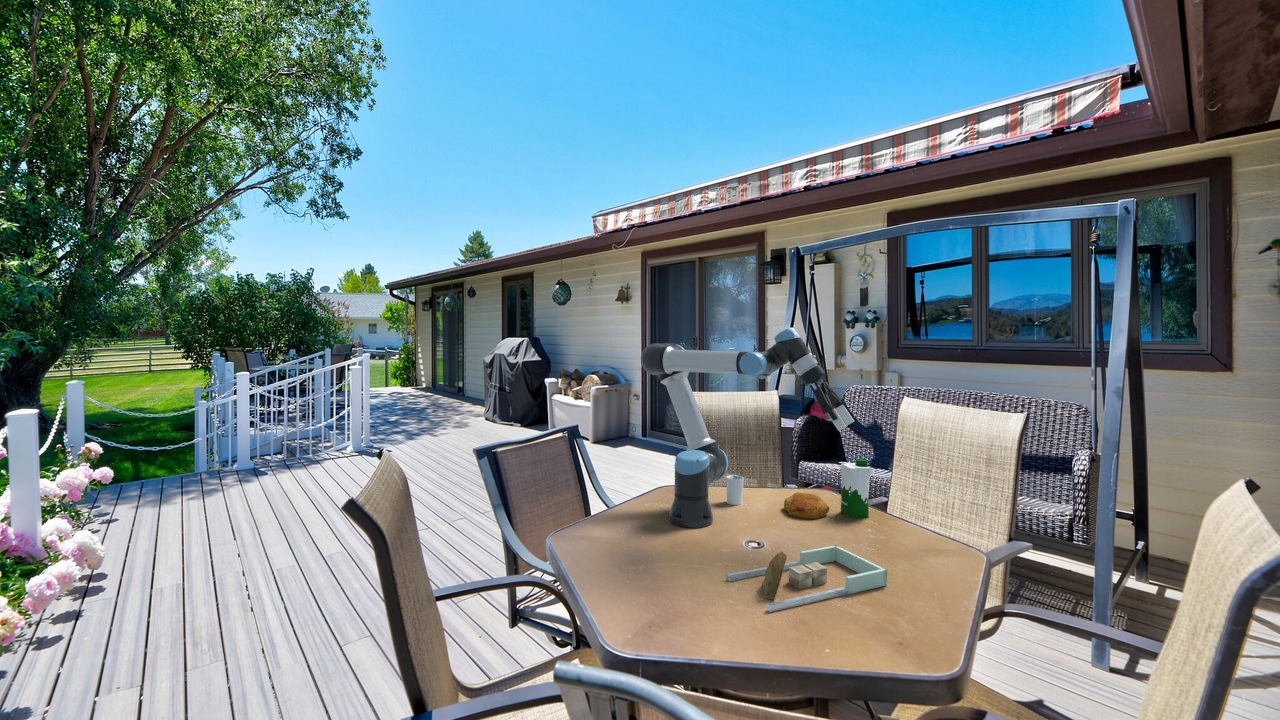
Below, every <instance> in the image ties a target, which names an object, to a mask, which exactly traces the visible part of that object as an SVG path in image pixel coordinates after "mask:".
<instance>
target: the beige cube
mask: <svg viewBox="0 0 1280 720" xmlns="http://www.w3.org/2000/svg"><path fill="white" fill-rule="evenodd" d="M804 567H806V568H807V569H809V570H811V571H812V586H818V585H824V584H827V583H828V581H827V579H828V568H827V567H826V566H824V565H822V564H819V563H817V562H815V563H809V564H804Z"/></svg>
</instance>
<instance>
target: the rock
mask: <svg viewBox="0 0 1280 720" xmlns="http://www.w3.org/2000/svg"><path fill="white" fill-rule="evenodd" d="M787 557H788V556H787V554H786V553H785V552H783V551H780V552H777V553H776V554H775V555H774V557H772V559H771V560H770V562H769V563H768V566H766V567H767V569H766V571H765V575H764V579H763V582H762V585H761V586H762V590H763V592H764V598H765V599H769V600H772V601H774V600H775V599H776V595H777V592H778V590H779V587H780V585H781V580H782V577H783V572H784V571H783V569H784V565H785V563H787V559H788V558H787Z"/></svg>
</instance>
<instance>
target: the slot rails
mask: <svg viewBox="0 0 1280 720" xmlns="http://www.w3.org/2000/svg"><path fill="white" fill-rule="evenodd" d="M799 565H802V562H801V561H800V560H797V561H790V562H785V565H784V569H783V572H786V571H789V567H794V566H799ZM767 567H768V566H765V567H759V568H753V569H749V570H743V571H737V572H733V573H728V574H726V581H727V582H733V581H739V580H745V579H749V578H754V577H759V576H765V571H766V569H767ZM848 592H849V588H847V587H846V585H844V586H842V587H837V588H832V589H828V590H823V591H820V592H814V593H811V594H805V595H801V596H796V597H792V598H787V599H784V600H779V601H774V602H771V603H767V604H766V611H767V612H769V613H773V612H777V611H781V610H786V609H789V608H795V607H798V606H803V605H808V604H812V603H815V602H819V601H825V600H829V599H834V598H838V597H841V596H847V595H849V594H848Z"/></svg>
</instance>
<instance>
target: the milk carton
mask: <svg viewBox="0 0 1280 720" xmlns="http://www.w3.org/2000/svg"><path fill="white" fill-rule="evenodd" d="M868 464H869V463H868V459H866V458H856V459H855V462H853V463H852V462H848V463H840V465H841V466H840V467H841V492H840V497H841V498H840V512H841V513H842V514H844V515H846V516H847V517H848V518H850V519H851V518H857V519H858V518H869V513H870V511H869V507H870V506H869V504H870V503H869V501H870V498H869V497H870V477H871V473H872V467H870V466H869V465H868Z"/></svg>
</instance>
